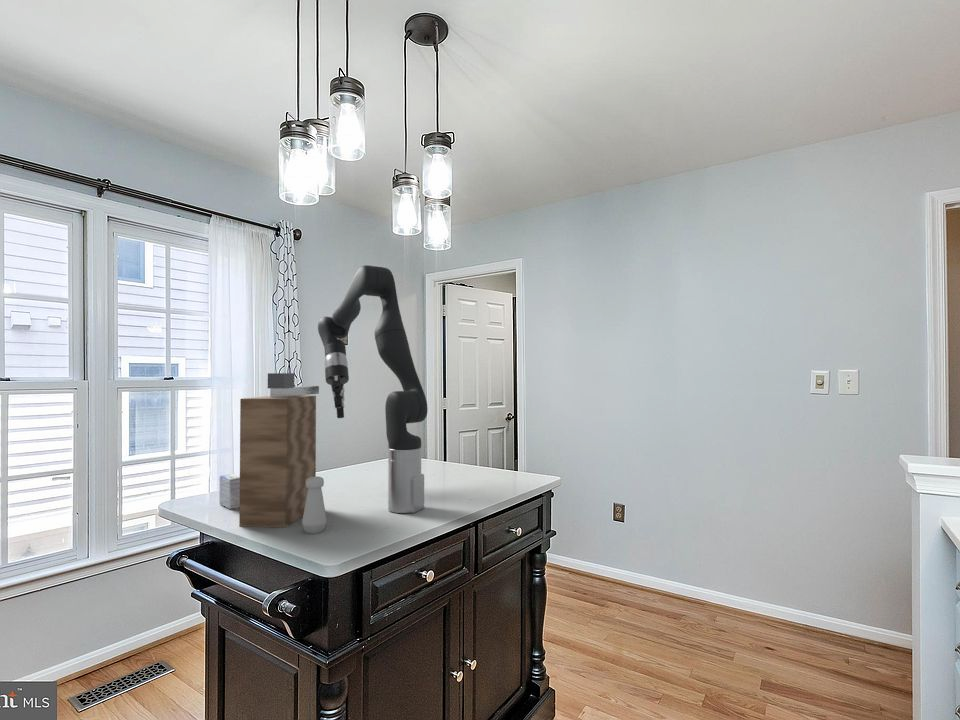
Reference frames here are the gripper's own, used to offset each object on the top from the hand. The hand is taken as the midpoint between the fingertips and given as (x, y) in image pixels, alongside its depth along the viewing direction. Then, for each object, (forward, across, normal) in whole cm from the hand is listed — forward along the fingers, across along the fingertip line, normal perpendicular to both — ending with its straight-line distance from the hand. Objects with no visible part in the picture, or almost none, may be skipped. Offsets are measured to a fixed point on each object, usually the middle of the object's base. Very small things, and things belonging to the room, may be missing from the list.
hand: (339, 412), depth 165 cm
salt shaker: (+41, +25, -7) cm, 48 cm away
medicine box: (+25, -1, -32) cm, 41 cm away
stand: (+33, +12, -17) cm, 39 cm away
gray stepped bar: (+1, +18, -11) cm, 21 cm away
